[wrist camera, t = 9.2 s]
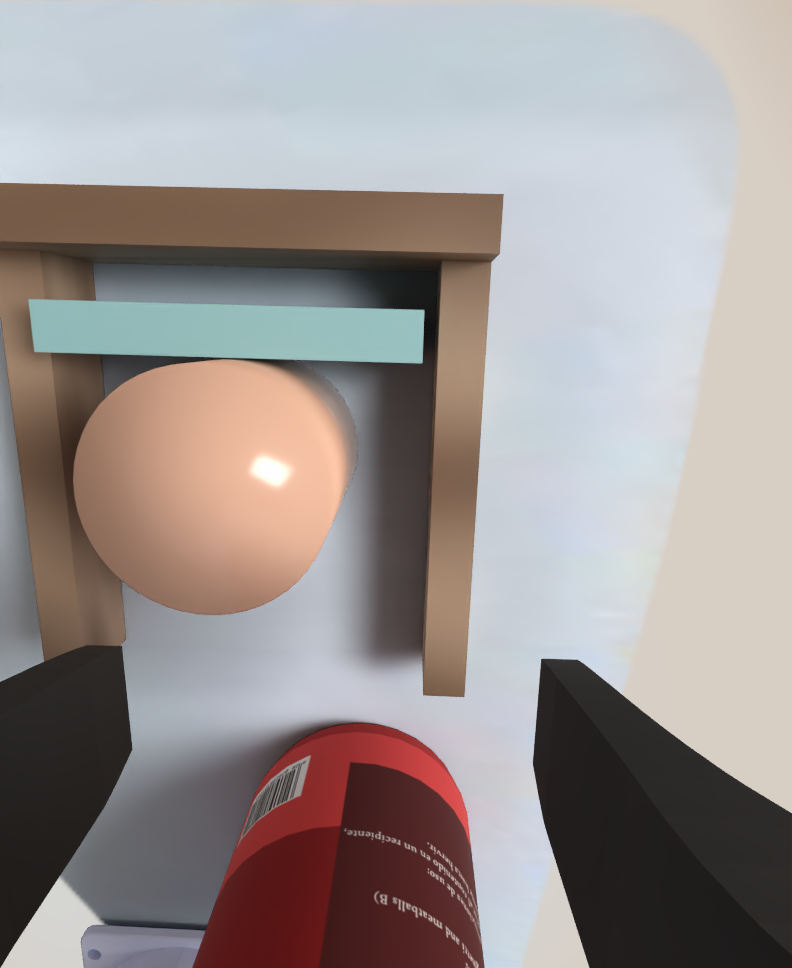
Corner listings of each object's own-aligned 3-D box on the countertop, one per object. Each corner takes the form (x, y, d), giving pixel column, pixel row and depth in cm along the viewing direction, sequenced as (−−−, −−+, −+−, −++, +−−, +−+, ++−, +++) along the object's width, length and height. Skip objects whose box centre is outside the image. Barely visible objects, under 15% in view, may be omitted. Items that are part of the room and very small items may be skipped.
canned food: (249, 888, 23) (100, 1383, 12) (259, 702, 21) (92, 1095, 10) (451, 910, 23) (483, 1429, 12) (480, 727, 21) (551, 1148, 10)
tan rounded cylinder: (366, 365, 18) (342, 380, 12) (349, 539, 19) (320, 629, 13) (183, 344, 18) (70, 348, 12) (178, 519, 19) (75, 599, 13)
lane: (458, 653, 20) (468, 730, 16) (91, 637, 20) (13, 709, 16) (483, 227, 17) (503, 194, 13) (46, 216, 17) (-63, 181, 13)
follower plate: (421, 358, 17) (422, 363, 14) (110, 348, 18) (34, 351, 14) (422, 315, 17) (424, 310, 14) (106, 306, 17) (28, 298, 14)
